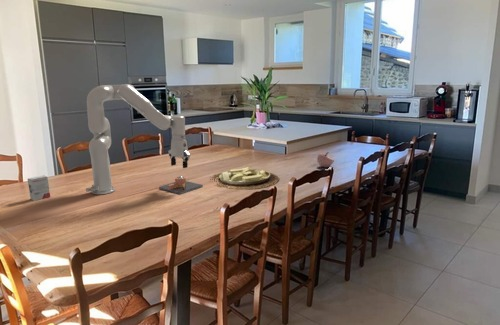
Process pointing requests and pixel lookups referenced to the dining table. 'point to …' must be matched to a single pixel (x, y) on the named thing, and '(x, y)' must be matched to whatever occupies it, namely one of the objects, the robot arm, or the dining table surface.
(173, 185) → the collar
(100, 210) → the dining table surface
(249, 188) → the plate
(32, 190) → the ink box
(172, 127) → the robot arm
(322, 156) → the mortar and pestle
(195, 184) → the post plate
